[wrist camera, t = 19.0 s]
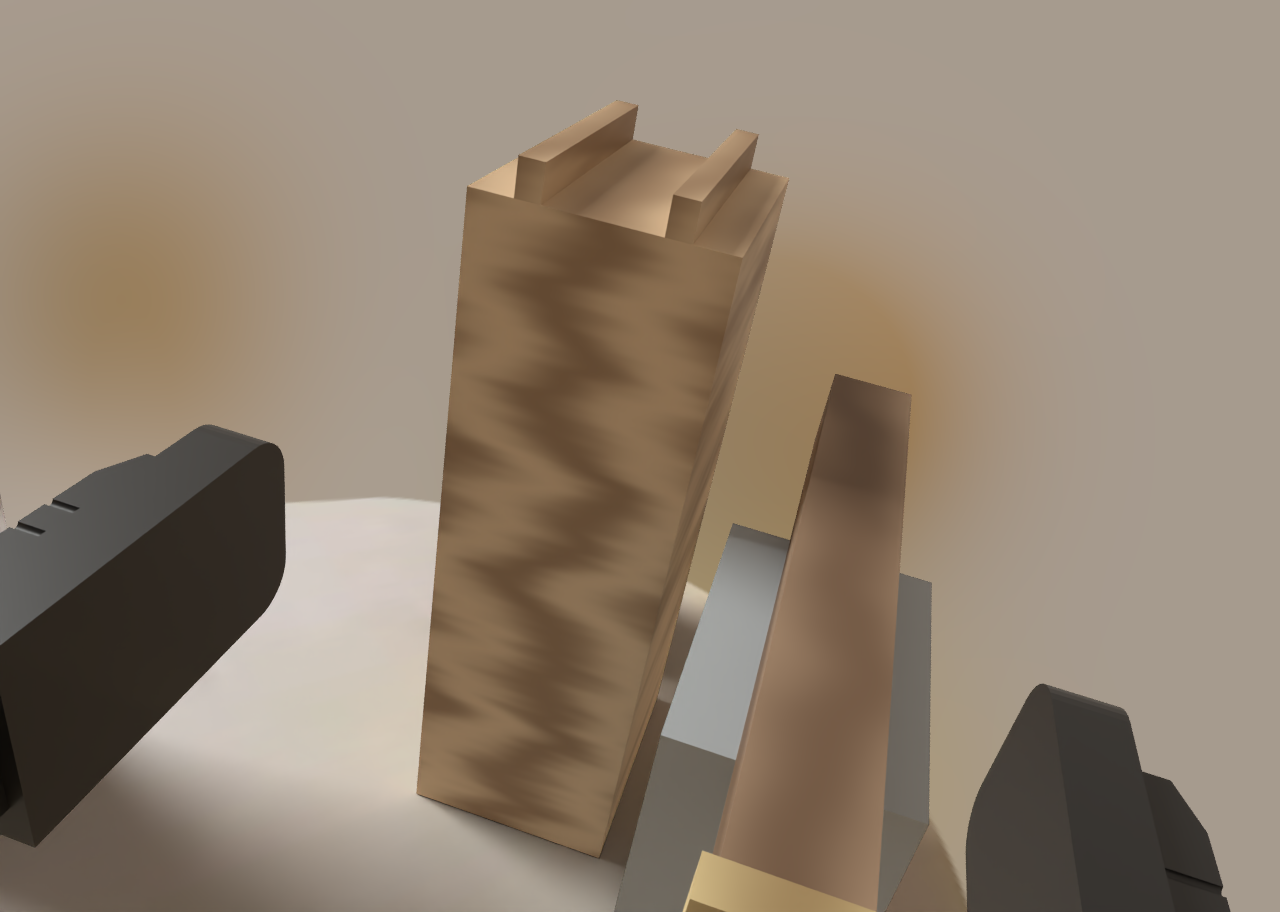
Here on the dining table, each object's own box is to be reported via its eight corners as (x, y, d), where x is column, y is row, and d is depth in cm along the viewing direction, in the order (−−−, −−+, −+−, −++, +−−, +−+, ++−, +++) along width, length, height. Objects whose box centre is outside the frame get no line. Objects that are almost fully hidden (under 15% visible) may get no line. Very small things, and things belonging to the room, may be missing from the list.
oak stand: (416, 793, 51) (470, 143, 34) (503, 647, 61) (579, 91, 44) (599, 858, 49) (753, 214, 32) (657, 697, 60) (797, 143, 42)
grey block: (565, 1094, 40) (660, 734, 29) (641, 855, 50) (732, 523, 39) (756, 1169, 39) (928, 824, 28) (794, 909, 49) (931, 582, 38)
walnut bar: (640, 1059, 21) (679, 938, 19) (805, 436, 46) (831, 353, 44) (839, 1136, 20) (906, 1021, 18) (897, 462, 46) (927, 379, 44)
